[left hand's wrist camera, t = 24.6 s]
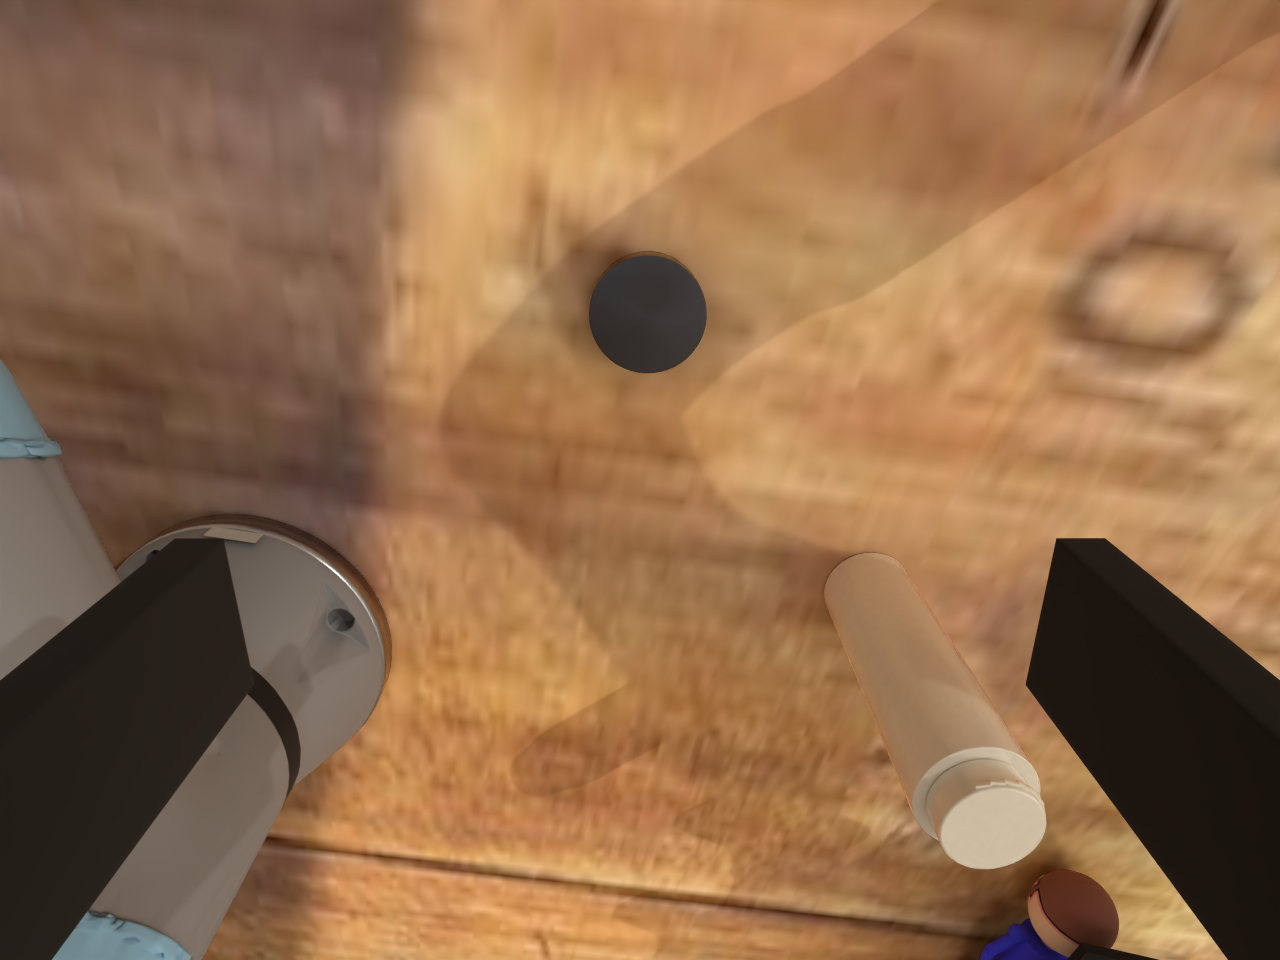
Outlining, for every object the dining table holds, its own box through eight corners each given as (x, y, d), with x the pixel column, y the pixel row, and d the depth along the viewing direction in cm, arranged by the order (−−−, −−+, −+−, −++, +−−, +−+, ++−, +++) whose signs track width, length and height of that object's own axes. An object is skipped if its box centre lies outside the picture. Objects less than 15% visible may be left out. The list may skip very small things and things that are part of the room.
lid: (640, 226, 37) (640, 229, 36) (726, 301, 39) (730, 308, 37) (568, 316, 39) (565, 323, 37) (654, 386, 40) (655, 396, 39)
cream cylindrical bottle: (916, 614, 45) (1068, 863, 29) (833, 636, 46) (937, 892, 30) (901, 542, 43) (1053, 763, 27) (815, 565, 44) (915, 796, 28)
